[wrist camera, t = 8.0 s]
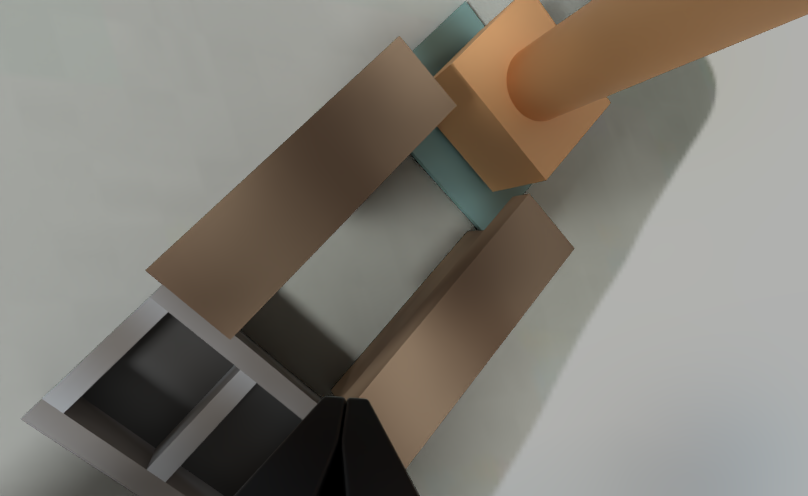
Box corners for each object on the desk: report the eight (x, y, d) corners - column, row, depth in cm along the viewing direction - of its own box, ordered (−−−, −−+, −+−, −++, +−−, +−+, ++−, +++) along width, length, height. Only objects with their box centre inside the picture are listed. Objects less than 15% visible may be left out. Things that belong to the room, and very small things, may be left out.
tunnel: (244, 531, 18) (245, 678, 12) (38, 393, 15) (-91, 487, 9) (569, 144, 24) (680, 109, 18) (458, -1, 21) (544, -99, 15)
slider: (492, 191, 21) (990, 84, 7) (412, 97, 20) (845, -278, 6) (549, 126, 23) (1071, -76, 8) (477, 32, 21) (969, -410, 7)
